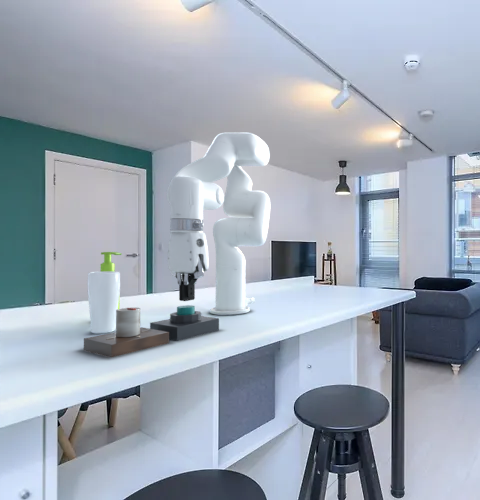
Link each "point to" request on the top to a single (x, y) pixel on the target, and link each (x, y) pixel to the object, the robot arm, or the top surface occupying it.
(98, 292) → the white lotion bottle
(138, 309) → the lock knob
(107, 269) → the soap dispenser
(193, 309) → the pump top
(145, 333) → the panel
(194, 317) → the button base
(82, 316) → the top surface
